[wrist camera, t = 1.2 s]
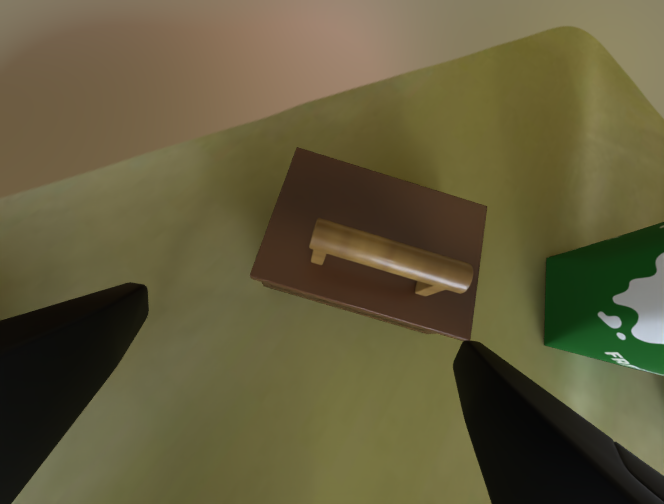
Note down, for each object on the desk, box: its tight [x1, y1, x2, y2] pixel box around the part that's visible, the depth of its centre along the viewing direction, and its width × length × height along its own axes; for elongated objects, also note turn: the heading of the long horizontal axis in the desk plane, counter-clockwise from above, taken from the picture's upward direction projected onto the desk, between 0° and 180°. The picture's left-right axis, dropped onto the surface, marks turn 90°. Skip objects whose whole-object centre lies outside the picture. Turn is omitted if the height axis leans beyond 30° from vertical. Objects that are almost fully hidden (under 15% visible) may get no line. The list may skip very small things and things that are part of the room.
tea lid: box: [250, 147, 487, 341], centre depth 16 cm, size 8×12×5 cm
